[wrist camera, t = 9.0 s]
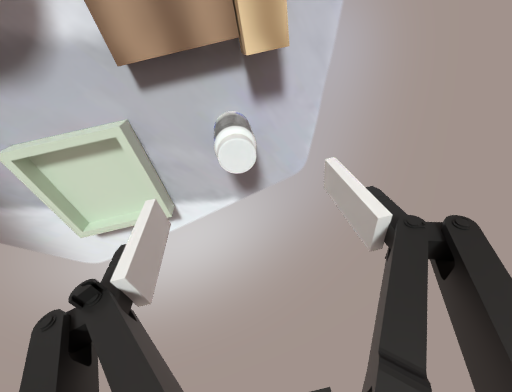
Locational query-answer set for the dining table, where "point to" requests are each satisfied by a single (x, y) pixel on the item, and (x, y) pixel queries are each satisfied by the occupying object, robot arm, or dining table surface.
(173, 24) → the brown cardboard box
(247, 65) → the dining table surface
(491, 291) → the robot arm
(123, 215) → the tray
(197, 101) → the dining table surface
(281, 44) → the wooden block
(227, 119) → the pill bottle
